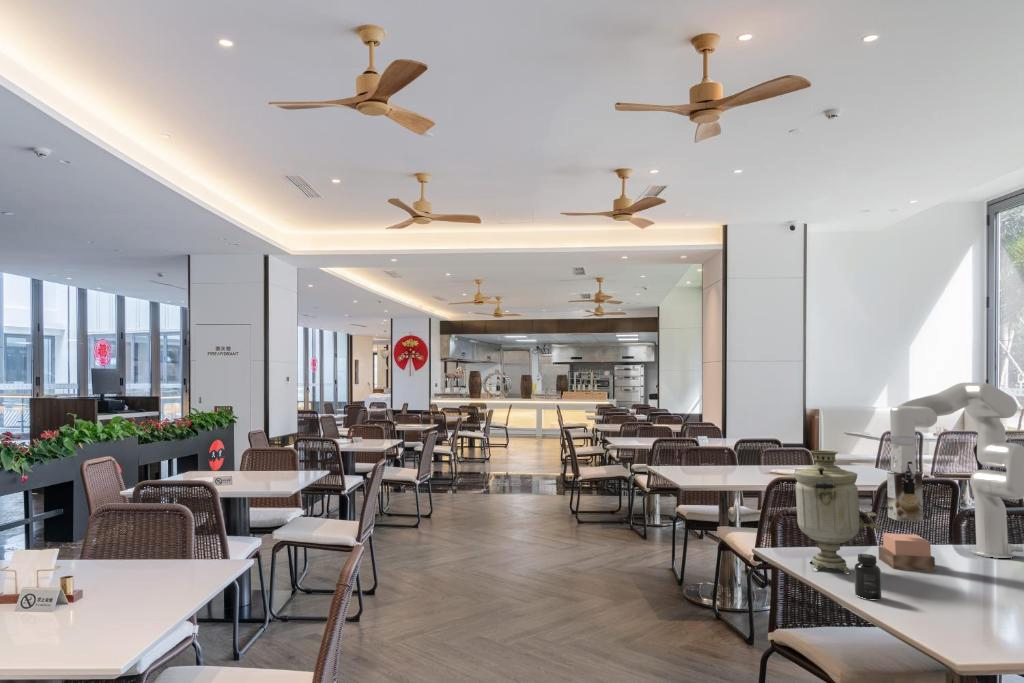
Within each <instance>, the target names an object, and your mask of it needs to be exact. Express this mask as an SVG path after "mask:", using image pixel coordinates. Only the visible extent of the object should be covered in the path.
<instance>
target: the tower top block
mask: <svg viewBox="0 0 1024 683" xmlns="http://www.w3.org/2000/svg"><path fill="white" fill-rule="evenodd" d="M882 539H883V540H882V542H883V544H882V545H883V546H884V548H886V549H887V550H889V551H890V552H892V553H893V554H895V555H905V556H923V557H931V556H932V552H931V542H930V541H929V540H927V539H926V538H923V537H921V536H919V535H917V534H909V533H906V534H905V533H888V532H883V533H882Z"/></svg>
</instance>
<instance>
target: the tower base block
mask: <svg viewBox="0 0 1024 683" xmlns="http://www.w3.org/2000/svg"><path fill="white" fill-rule="evenodd" d="M935 558H936V557H935V556H932V555H931V557H923V556H905V555H895V554H893V553H892V552H890V551H889V550H887V549H886V548H884V546H882V545H879V546H878V560H880V561H881V562H882V563H884V564H885V565H887V566H888V567H890V568H892V569H893V570H905V569H909V570H910V571H922V570H926V571H925V572H936V559H935ZM909 570H908V571H909ZM927 570H928V571H927Z"/></svg>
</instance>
